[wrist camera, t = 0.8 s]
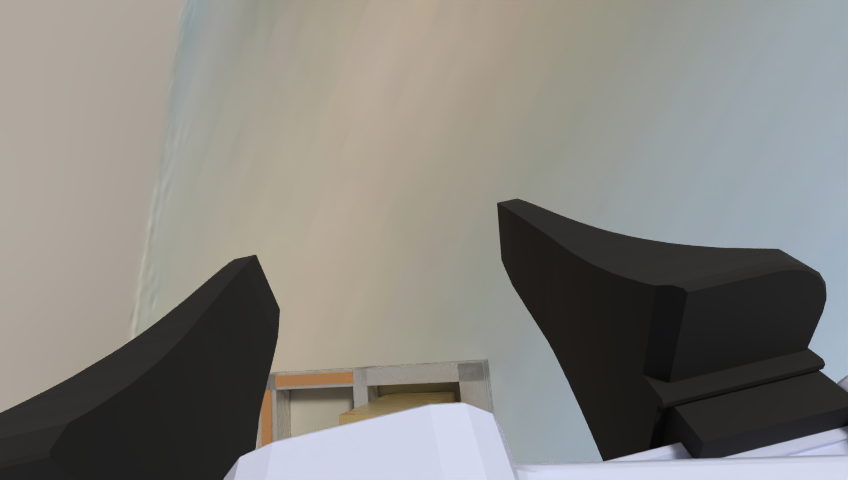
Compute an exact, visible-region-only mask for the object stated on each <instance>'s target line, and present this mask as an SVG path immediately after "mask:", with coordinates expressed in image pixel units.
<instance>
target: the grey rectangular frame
mask: <svg viewBox="0 0 848 480" xmlns="http://www.w3.org/2000/svg"><path fill="white" fill-rule="evenodd" d="M441 382H459V385H460V395H461V402H462V403H466V404H468V405H471V406H474V407H476V408H479V409H481V410H484V411H486V412H489V413H492V414H493V416H494V410H493V402H492V393H491V385H490V376H489V368H488V360H473V361H456V362H440V363H423V364H407V365H390V366H374V367H357V368H341V369H324V370H308V371H291V372H275V373H269V378H268V382H267V386H266V390H265V394H264V398H263V402H262V407H261V412H260V417H259V448H260V447H263V446H265V445H267V444H270V443H272V442H274V441H276V440H281V439H285V438H289V437H291V429H290V389H304V388H326V387H349V386H353V393H354V409H355V408H357V407H359V406H361V405H364V404H366V403H368V402H371V401H373V400H375V399H378V385H395V384H418V383H441Z"/></svg>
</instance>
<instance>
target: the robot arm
mask: <svg viewBox="0 0 848 480" xmlns="http://www.w3.org/2000/svg"><path fill="white" fill-rule="evenodd" d="M497 207H498V220H499V233H500V245H501V258H502V262H503V264H504V267H505V269H506V271H507V274H508V276H509V278H510V280H511V283H512V285H513V287H514V288H515V290H516V292H517V293H518V295H519V296H520V298H521V300H522V301H523V303H524V304H525V306H526V308H527V309H528V311H529V312H530V314H531V315H532V317H533V318H534V320H535V322H536V323H537V325H538V326H539V328H540V330H541V331H542V333H543V334H544V336H545V337H546V339H547V341H548V342H549V344H550V346H551V348H552V349H553V351H554V353H555V355H556V357H557V359H558V361H559V363H560V366H561V368H562V370H563V372H564V374H565V376H566V378H567V380H568V382H569V384H570V386H571V389H572V391H573V393H574V395H575V397H576V400H577V402H578V404H579V406H580V408H581V410H582V413H583V415H584V417H585V420H586V422H587V424H588V427H589V429H590V431H591V433H592V436H593V438H594V440H595V443H596V445H597V447H598V450H599V452H600V455H601V457H602V459H603V461H601V462H567V463H532V464H514V461H513V458H512V455H511V452H510V450H509V447H508V444H507V441H506V438H505V436H504V433H503V431H502V429H501V428H500V426H499V424H498V422H497V421H496V419H495V417H494V416H493V414H492V413H489V412H486V411H484V410H481V409H479V408H476V407H474V406H471V405H468V404H466V403H462V402H458V403H440V404H428V405H424V406H419V407H415V408H411V409H407V410H403V411H398V412H394V413H390V414H386V415H382V416H377V417H373V418H369V419H365V420H360V421H356V422H352V423H348V424H344V425H339V426H335V427H331V428H327V429H323V430H318V431H314V432H310V433H306V434H302V435H297V436H293V437H289V438H285V439H281V440H276V441H274V442H272V443H270V444H267V445H265V446H263V447H260V448H258V449H256V450H255V448H256V440H257V431H258V423H259V417H260V412H261V407H262V402H263V398H264V394H265V390H266V386H267V382H268V378H269V373H270V369H271V365H272V361H273V357H274V352H275V348H276V344H277V339H278V329H279V314H280V309H279V306H278V304H277V302H276V300H275V297H274V295H273V293H272V290H271V288H270V286H269V284H268V281H267V279H266V277H265V274H264V272H263V270H262V267H261V265H260V263H259V261H258V258H257V256H256V255H252V256H248V257H243V258H238V259H235V260H233V261H231V262H230V263H228V264H227V265H226V266H225V267H223V268H222V269H221V270H220V271H218V272H217V273H216V274H215V275H214V276H212V277H211V278H210V279H209V280H208V281H207V282H205V283H204V284H203V285H202V286H201V287H200V288H198V289H197V290H196V291H195V292H194V293H193V294H191V295H190V296H189V297H188V298H187V299H185V300H184V301H183V302H182V303H181V304H179V305H178V306H177V307H175V308H174V309H173V310H172V311H170V312H169V313H168V314H167V315H165V316H164V317H163V318H162V319H160V320H159V321H158V322H157V323H155V324H154V325H153V326H151V327H150V328H149V329H147V330H146V331H144V332H143V333H142V334H140V335H139V336H137V337H136V338H134V339H133V340H131V341H130V342H128V343H127V344H125V345H124V346H122V347H121V348H119V349H118V350H116V351H115V352H113V353H112V354H110V355H108V356H107V357H105V358H103V359H102V360H100V361H98V362H96V363H95V364H93V365H91V366H90V367H88V368H86V369H85V370H83V371H81V372H80V373H78V374H76V375H74V376H73V377H71V378H69V379H67V380H65V381H64V382H62V383H60V384H58V385H56V386H54V387H52V388H50V389H48V390H46V391H44V392H42V393H40V394H38V395H37V396H34V397H32V398H31V399H29V400H27V401H25V402H22V403H20V404H18V405H16V406H14V407H12V408H10V409H8V410H6V411H4V412H1V413H0V480H848V375H847V376H846V377H844V378H843V379H842V380H840V381H839V382H838V383H837V384H836V383H835V382H834V381H832V380H831V379H830V378H828V377H827V376H826V375H825V374H823V373H822V372H821V371H819V370H821V369H823V368H824V366H825V363H824V361H823V359H822V358H821V357H819V356H818V355H817V354H815V353H814V352H813V351H811V350H810V349H809V348H808V345H809V343H810V341H811V338H812V336H813V334H814V331H815V329H816V327H817V324H818V322H819V320H820V317H821V315H822V313H823V309H824V306H825V302H826V284H825V281H824V280H823V278H822V276H821V275H820V273H819V272H817V271H815V270H814V269H812V268H810V267H809V266H807V265H805V264H804V263H802V262H800V261H799V260H797V259H795V258H793V257H792V256H790V255H788V254H787V253H785V252H783V251H781V250H779V249H753V248H717V247H704V246H691V245H682V244H673V243H666V242H659V241H653V240H646V239H641V238H636V237H631V236H627V235H622V234H618V233H614V232H610V231H606V230H602V229H599V228H596V227H593V226H589V225H586V224H583V223H580V222H577V221H575V220H572V219H569V218H566V217H564V216H561V215H559V214H556V213H554V212H551V211H549V210H546V209H544V208H541V207H539V206H536V205H534V204H531V203H529V202H526V201H523V200H520V199H513V200H509V201H504V202H499V203H497Z"/></svg>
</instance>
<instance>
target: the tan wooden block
mask: <svg viewBox="0 0 848 480" xmlns="http://www.w3.org/2000/svg"><path fill="white" fill-rule="evenodd" d="M440 403H456V395H455V391H447V392H419V393H391V394H387V395H384V396H382V397H380V398H378V399H375V400H373V401H371V402H368V403H366V404H364V405H361V406H359V407H357V408H355V409H352V410H350V411H348V412H345V413H343V414H341V415H339V424H340V425H344V424H348V423H352V422H356V421H360V420H365V419H369V418H373V417H377V416H382V415H386V414H390V413H394V412H398V411H403V410H407V409H411V408H415V407H419V406H424V405H428V404H440Z"/></svg>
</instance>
